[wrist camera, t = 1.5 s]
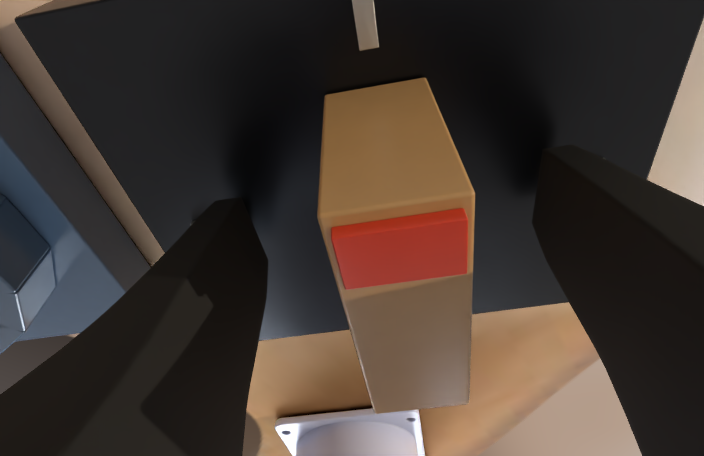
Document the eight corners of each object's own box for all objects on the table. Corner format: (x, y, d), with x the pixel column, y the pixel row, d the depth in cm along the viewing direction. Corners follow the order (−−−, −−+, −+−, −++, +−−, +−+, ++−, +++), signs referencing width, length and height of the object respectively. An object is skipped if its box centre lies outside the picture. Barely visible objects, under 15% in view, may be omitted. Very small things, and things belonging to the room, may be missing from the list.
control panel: (564, 232, 15) (608, 302, 12) (240, 277, 16) (223, 350, 13) (644, -135, 8) (769, -138, 6) (90, -18, 9) (6, 21, 7)
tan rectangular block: (436, 271, 11) (472, 416, 8) (365, 280, 12) (374, 426, 9) (426, 75, 8) (481, 204, 5) (323, 93, 8) (314, 228, 5)
